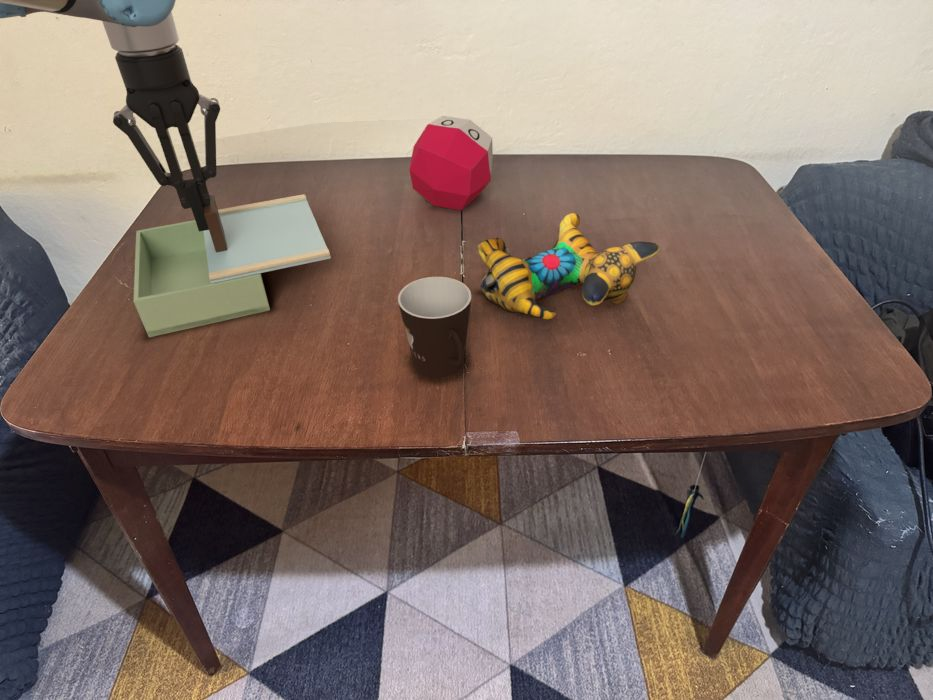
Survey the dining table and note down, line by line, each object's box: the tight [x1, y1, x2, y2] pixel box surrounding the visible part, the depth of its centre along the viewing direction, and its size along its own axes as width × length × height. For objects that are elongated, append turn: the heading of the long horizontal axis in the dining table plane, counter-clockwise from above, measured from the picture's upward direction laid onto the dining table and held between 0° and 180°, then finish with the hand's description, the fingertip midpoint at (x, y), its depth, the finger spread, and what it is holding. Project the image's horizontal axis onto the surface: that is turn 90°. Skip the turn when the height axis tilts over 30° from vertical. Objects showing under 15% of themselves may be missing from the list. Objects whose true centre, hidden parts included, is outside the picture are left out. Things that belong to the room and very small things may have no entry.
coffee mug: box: [397, 276, 472, 379], centre depth 77 cm, size 12×9×10 cm
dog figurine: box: [477, 212, 660, 320], centre depth 88 cm, size 20×12×18 cm
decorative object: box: [408, 115, 494, 211], centre depth 112 cm, size 15×15×15 cm
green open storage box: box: [133, 219, 271, 338], centre depth 94 cm, size 16×20×6 cm
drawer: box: [203, 193, 332, 283], centre depth 93 cm, size 16×20×7 cm
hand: (203, 226), depth 91 cm, fingers closed
